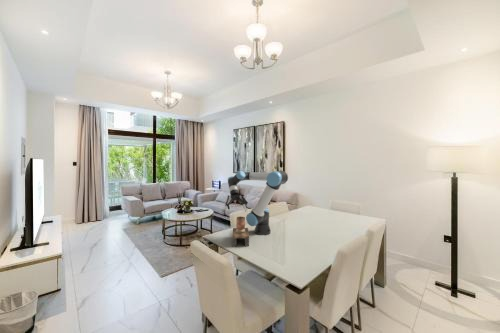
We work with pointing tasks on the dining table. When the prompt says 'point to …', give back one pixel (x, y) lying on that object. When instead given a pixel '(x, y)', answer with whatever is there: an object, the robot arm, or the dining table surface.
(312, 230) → the dining table surface
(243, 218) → the cord reel
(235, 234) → the bridge shelf
